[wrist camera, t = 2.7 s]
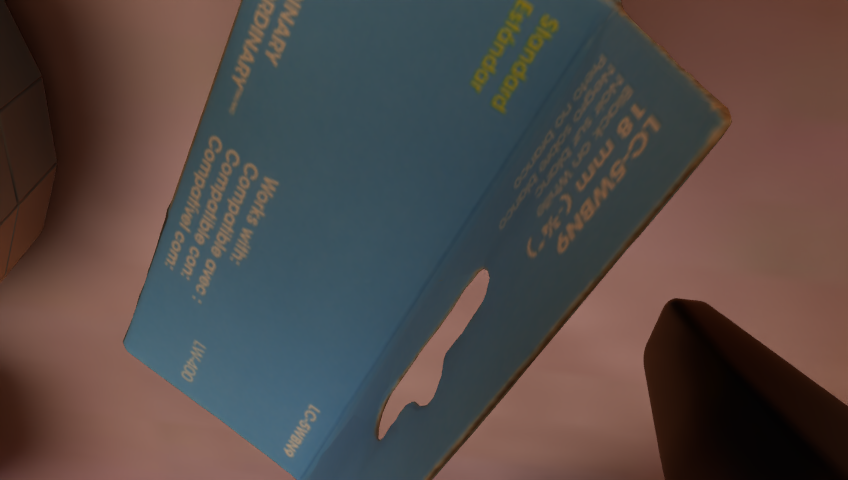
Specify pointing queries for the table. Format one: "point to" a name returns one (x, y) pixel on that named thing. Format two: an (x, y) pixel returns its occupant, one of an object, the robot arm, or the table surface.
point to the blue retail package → (404, 212)
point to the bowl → (22, 146)
